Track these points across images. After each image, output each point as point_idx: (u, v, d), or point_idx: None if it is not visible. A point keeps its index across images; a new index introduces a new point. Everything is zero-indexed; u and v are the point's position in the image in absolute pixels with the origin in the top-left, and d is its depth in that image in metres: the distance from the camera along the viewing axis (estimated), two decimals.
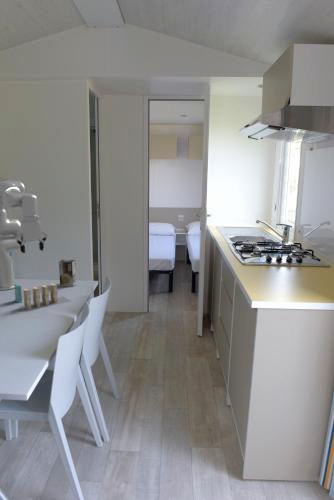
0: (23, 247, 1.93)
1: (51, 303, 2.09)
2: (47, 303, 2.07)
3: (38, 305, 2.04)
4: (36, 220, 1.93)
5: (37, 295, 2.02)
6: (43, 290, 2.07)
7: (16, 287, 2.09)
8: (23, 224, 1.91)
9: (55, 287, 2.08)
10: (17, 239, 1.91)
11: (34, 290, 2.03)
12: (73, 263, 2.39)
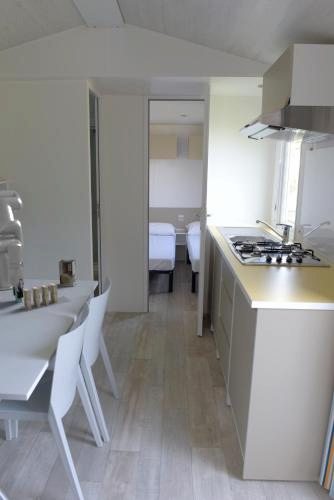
0: (22, 292, 2.09)
1: (51, 303, 2.09)
2: (47, 303, 2.07)
3: (38, 305, 2.04)
4: None
5: (37, 295, 2.02)
6: (43, 290, 2.07)
7: (16, 287, 2.09)
8: (21, 270, 2.06)
9: (55, 287, 2.08)
10: None
11: (34, 290, 2.03)
12: (73, 263, 2.39)
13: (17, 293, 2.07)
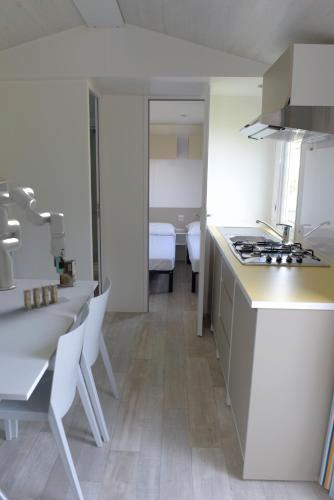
0: None
1: (51, 303, 2.09)
2: (47, 303, 2.07)
3: (38, 305, 2.04)
4: None
5: (37, 295, 2.02)
6: (43, 290, 2.07)
7: (57, 258, 2.09)
8: (63, 240, 2.05)
9: (55, 287, 2.08)
10: None
11: (34, 290, 2.03)
12: (73, 263, 2.39)
13: (59, 263, 2.07)
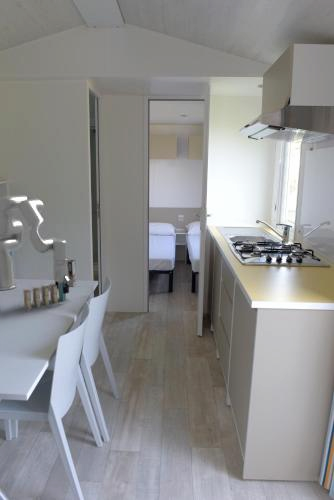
0: (68, 287, 2.11)
1: (51, 303, 2.09)
2: (47, 303, 2.07)
3: (38, 305, 2.04)
4: None
5: (37, 295, 2.02)
6: (43, 290, 2.07)
7: (60, 285, 2.13)
8: (66, 267, 2.09)
9: (55, 287, 2.08)
10: None
11: (34, 290, 2.03)
12: (73, 263, 2.39)
13: (63, 288, 2.09)
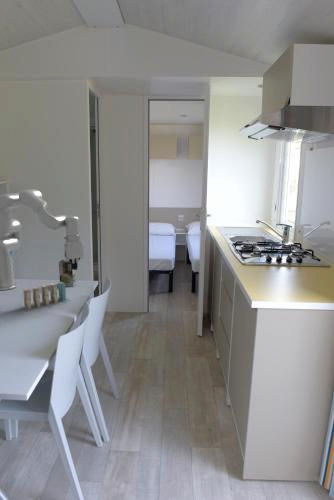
0: None
1: (51, 303, 2.09)
2: (47, 303, 2.07)
3: (38, 305, 2.04)
4: None
5: (37, 295, 2.02)
6: (43, 290, 2.07)
7: (60, 285, 2.13)
8: None
9: (55, 287, 2.08)
10: None
11: (34, 290, 2.03)
12: None
13: (76, 264, 2.16)
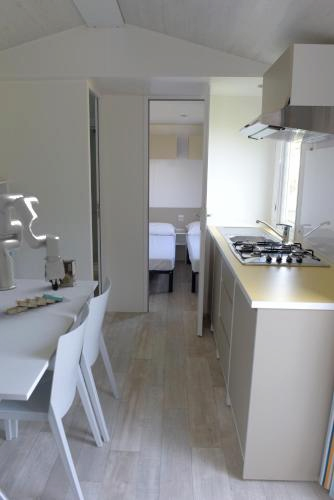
0: None
1: (51, 303, 2.09)
2: (44, 303, 2.06)
3: (35, 306, 2.02)
4: None
5: (25, 305, 1.98)
6: None
7: None
8: None
9: (39, 299, 2.03)
10: None
11: None
12: (73, 263, 2.39)
13: (57, 285, 2.10)
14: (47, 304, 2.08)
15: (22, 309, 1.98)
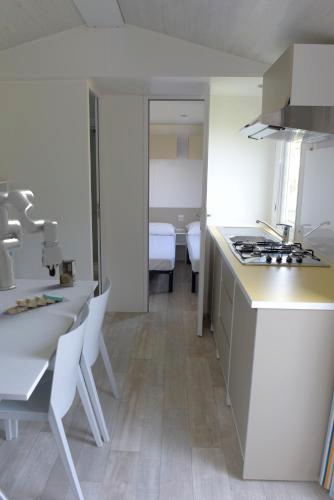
0: None
1: (51, 303, 2.09)
2: (44, 303, 2.06)
3: (35, 306, 2.02)
4: None
5: (25, 305, 1.98)
6: None
7: None
8: None
9: (39, 299, 2.03)
10: None
11: None
12: (73, 263, 2.39)
13: (54, 271, 2.08)
14: (47, 304, 2.08)
15: (22, 309, 1.98)
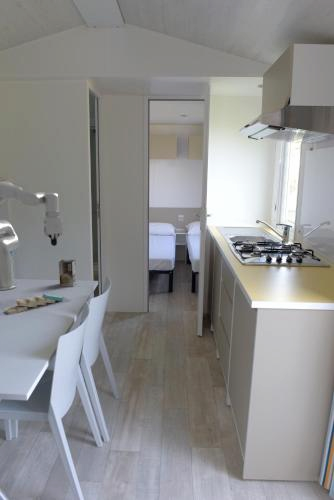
0: None
1: (51, 303, 2.09)
2: (44, 303, 2.06)
3: (35, 306, 2.02)
4: None
5: (25, 305, 1.98)
6: None
7: None
8: None
9: (39, 299, 2.03)
10: None
11: None
12: (73, 263, 2.39)
13: (56, 240, 2.22)
14: (47, 304, 2.08)
15: (22, 309, 1.98)
